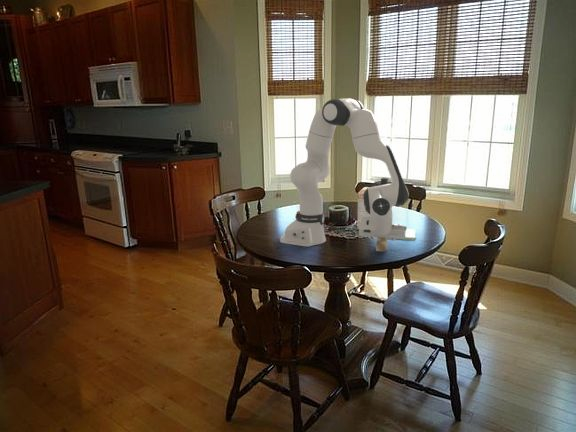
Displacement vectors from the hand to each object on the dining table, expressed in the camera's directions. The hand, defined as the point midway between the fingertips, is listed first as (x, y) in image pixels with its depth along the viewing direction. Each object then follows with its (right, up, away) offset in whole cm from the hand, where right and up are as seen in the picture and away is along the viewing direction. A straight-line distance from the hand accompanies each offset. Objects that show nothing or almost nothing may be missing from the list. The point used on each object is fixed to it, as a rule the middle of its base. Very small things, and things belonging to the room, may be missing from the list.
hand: (382, 238), depth 192 cm
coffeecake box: (0, +5, +37) cm, 37 cm away
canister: (+15, +13, +64) cm, 67 cm away
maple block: (0, -5, +1) cm, 5 cm away
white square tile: (+14, +1, +20) cm, 24 cm away
